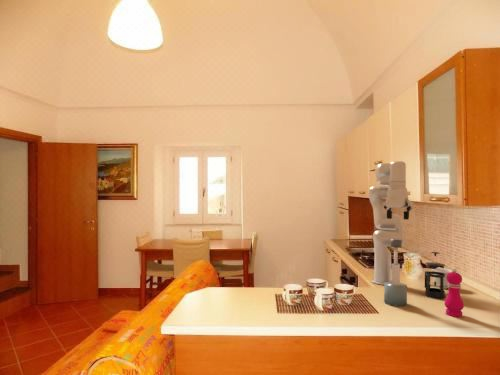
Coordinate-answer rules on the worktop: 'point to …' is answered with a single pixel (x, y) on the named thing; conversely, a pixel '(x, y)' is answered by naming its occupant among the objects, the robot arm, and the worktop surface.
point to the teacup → (443, 278)
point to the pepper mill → (454, 295)
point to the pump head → (396, 248)
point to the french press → (435, 292)
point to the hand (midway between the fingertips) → (397, 219)
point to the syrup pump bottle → (395, 289)
